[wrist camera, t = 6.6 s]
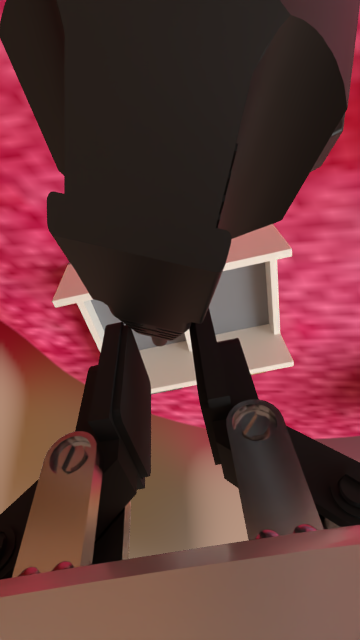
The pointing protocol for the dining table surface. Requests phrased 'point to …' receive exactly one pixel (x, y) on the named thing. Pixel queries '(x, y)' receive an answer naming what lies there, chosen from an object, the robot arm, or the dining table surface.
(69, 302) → the two-cubby white shelf
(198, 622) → the robot arm
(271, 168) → the power plug
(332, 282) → the dining table surface
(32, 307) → the dining table surface
